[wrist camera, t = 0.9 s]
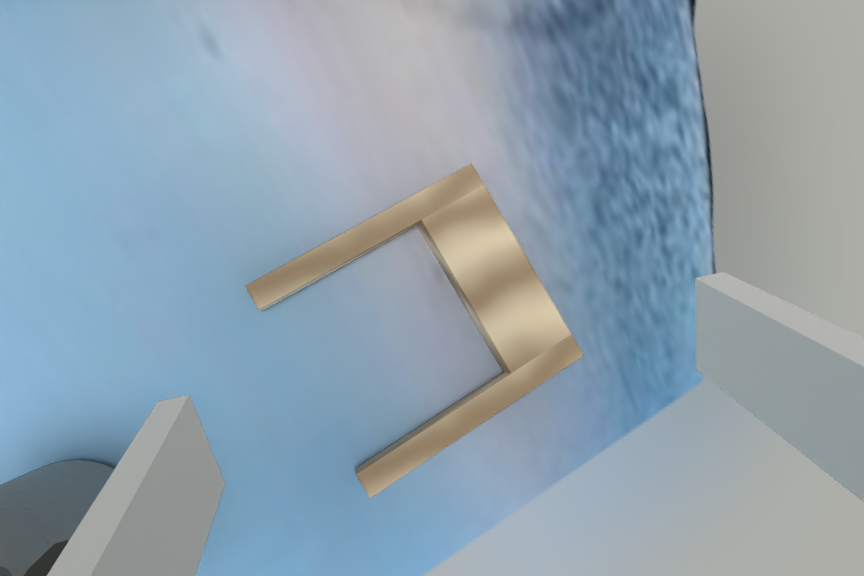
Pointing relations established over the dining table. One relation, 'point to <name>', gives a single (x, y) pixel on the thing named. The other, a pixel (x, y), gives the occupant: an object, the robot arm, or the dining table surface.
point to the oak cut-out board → (480, 293)
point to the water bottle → (45, 509)
